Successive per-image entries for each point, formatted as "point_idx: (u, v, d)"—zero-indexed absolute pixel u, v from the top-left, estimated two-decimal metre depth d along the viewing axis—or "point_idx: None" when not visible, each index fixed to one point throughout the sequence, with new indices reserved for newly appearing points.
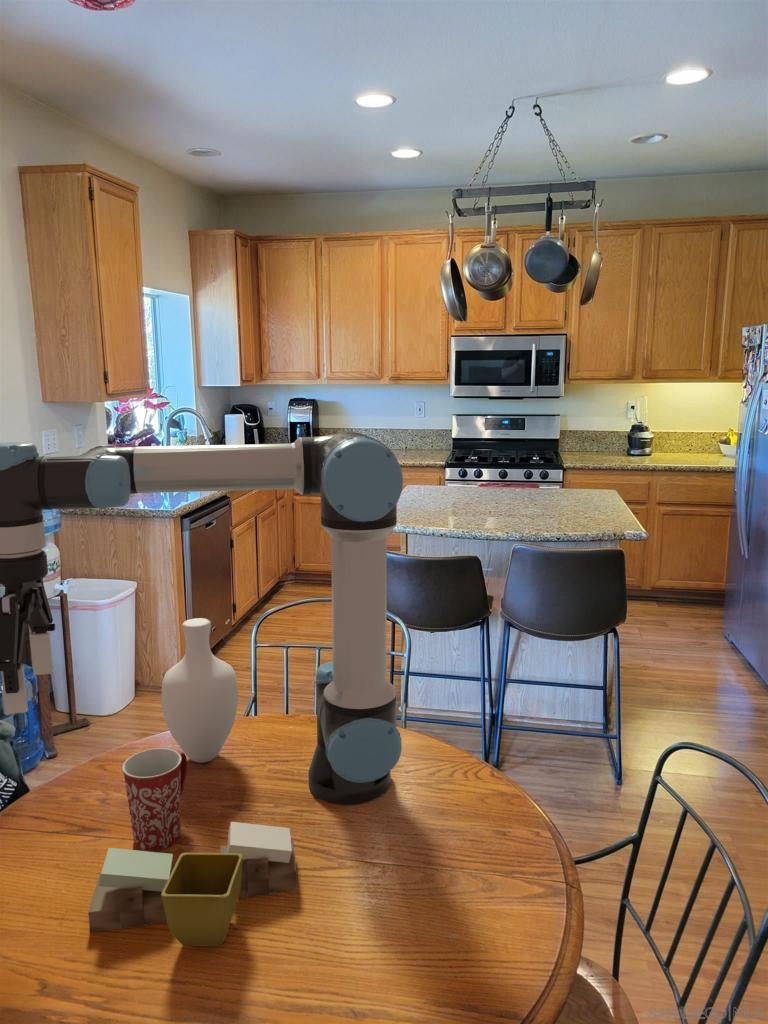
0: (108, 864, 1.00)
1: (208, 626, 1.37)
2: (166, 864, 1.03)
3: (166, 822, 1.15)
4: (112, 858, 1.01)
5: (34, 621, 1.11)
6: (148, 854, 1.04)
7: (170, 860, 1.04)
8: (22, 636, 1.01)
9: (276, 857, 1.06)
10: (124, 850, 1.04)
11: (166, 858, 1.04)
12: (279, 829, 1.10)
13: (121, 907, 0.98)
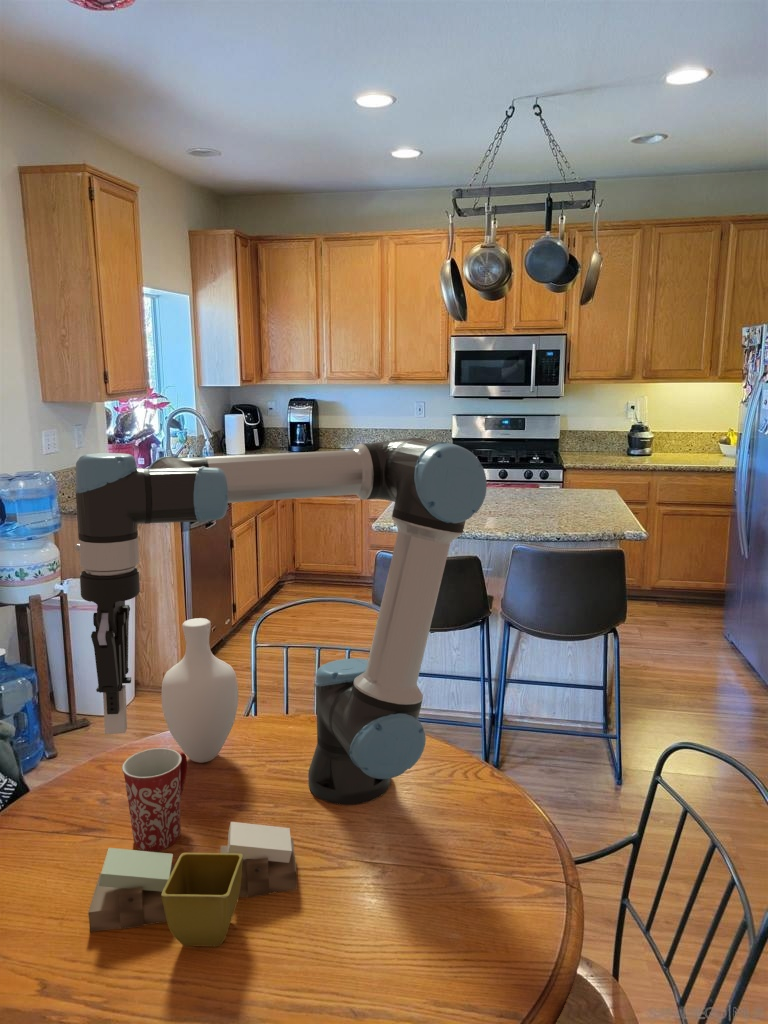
0: (108, 864, 1.00)
1: (208, 626, 1.37)
2: (166, 864, 1.03)
3: (166, 822, 1.15)
4: (112, 858, 1.01)
5: None
6: (148, 854, 1.04)
7: (170, 860, 1.04)
8: (120, 658, 0.99)
9: (276, 857, 1.06)
10: (124, 850, 1.04)
11: (166, 858, 1.04)
12: (279, 829, 1.10)
13: (121, 907, 0.98)
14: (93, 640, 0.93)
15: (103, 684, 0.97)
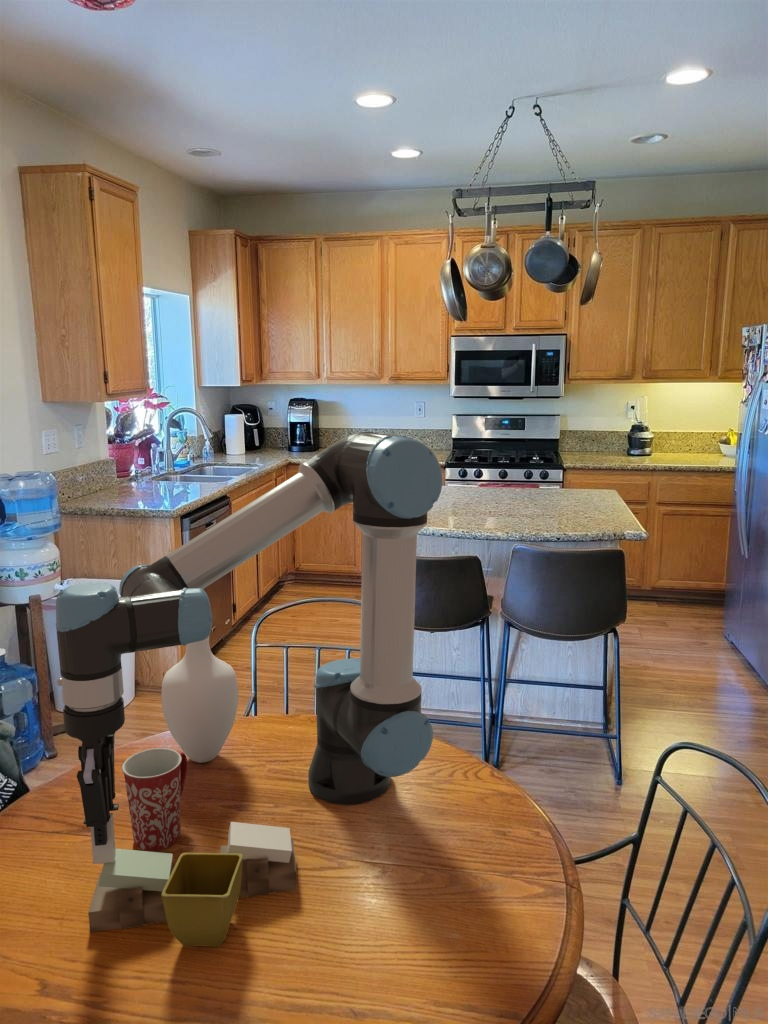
0: (107, 864, 1.00)
1: None
2: (166, 864, 1.03)
3: (166, 822, 1.15)
4: None
5: None
6: (148, 854, 1.04)
7: (170, 860, 1.04)
8: (106, 790, 0.98)
9: (276, 857, 1.06)
10: (124, 850, 1.04)
11: (166, 858, 1.04)
12: (279, 829, 1.10)
13: (121, 907, 0.98)
14: (79, 780, 0.92)
15: (90, 819, 0.95)
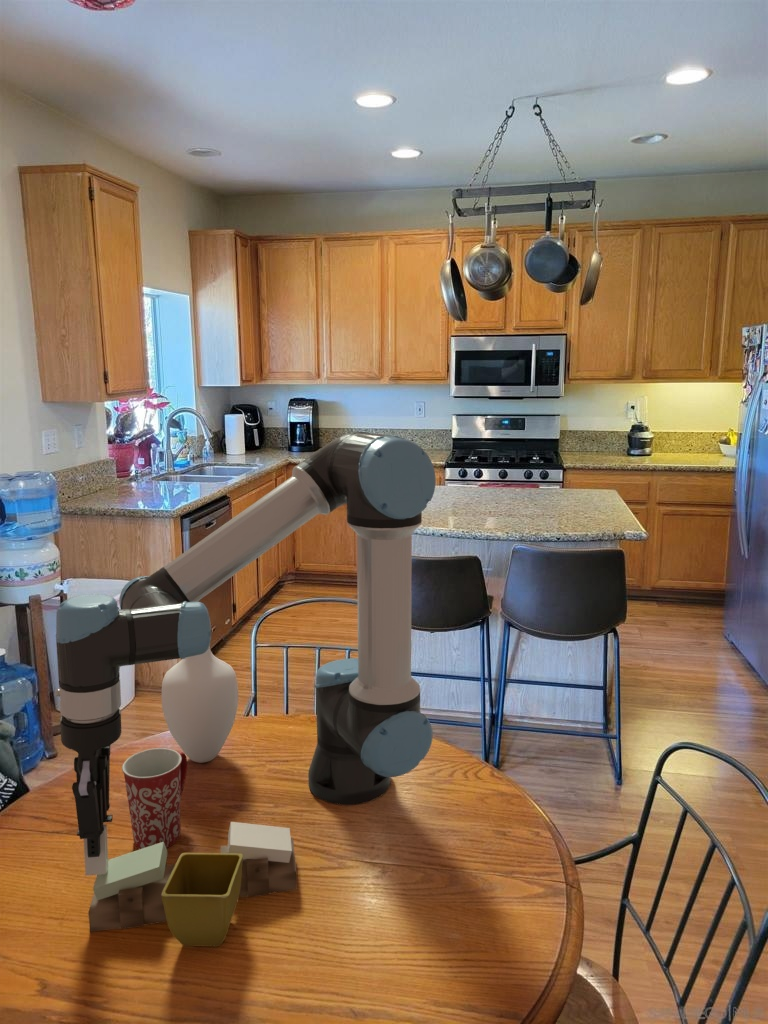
0: (99, 877, 1.00)
1: None
2: (157, 853, 1.02)
3: (166, 822, 1.15)
4: None
5: None
6: (139, 852, 1.04)
7: (161, 848, 1.03)
8: (101, 802, 0.98)
9: (276, 857, 1.06)
10: (116, 858, 1.04)
11: (157, 848, 1.04)
12: (279, 829, 1.10)
13: (121, 907, 0.98)
14: (74, 792, 0.92)
15: (84, 831, 0.95)
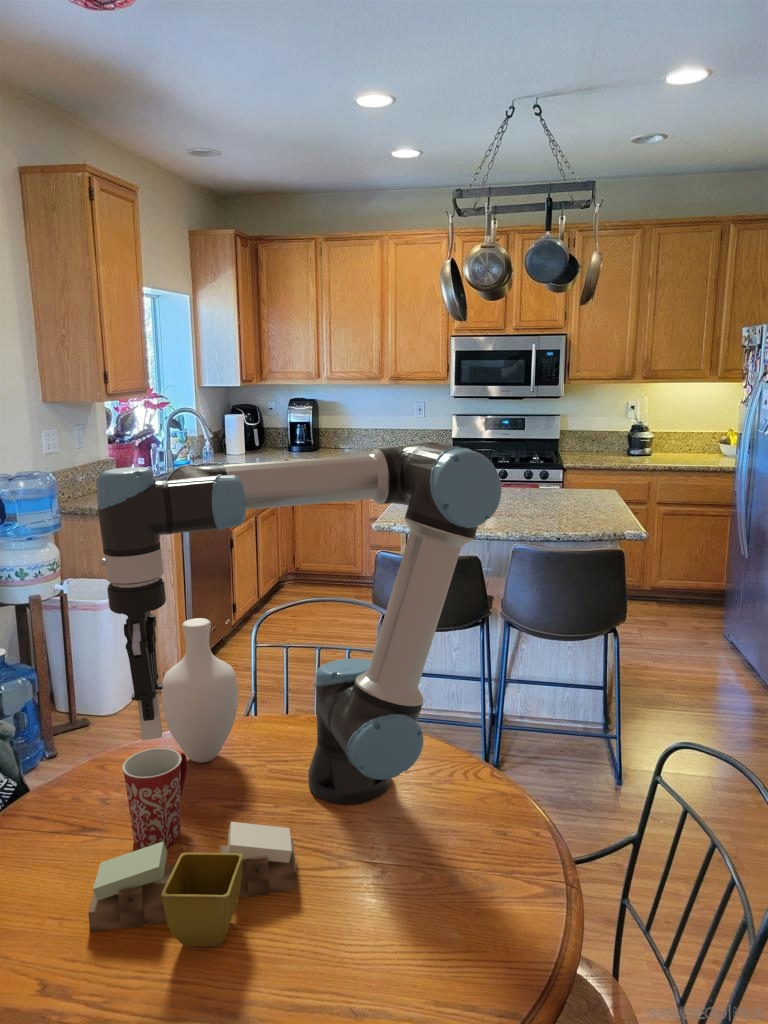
0: (99, 877, 1.00)
1: (208, 626, 1.37)
2: (156, 853, 1.02)
3: (166, 822, 1.15)
4: (103, 870, 1.02)
5: None
6: (139, 852, 1.04)
7: (160, 848, 1.03)
8: (152, 666, 1.02)
9: (276, 857, 1.06)
10: (116, 858, 1.04)
11: (156, 848, 1.04)
12: (279, 829, 1.10)
13: (121, 907, 0.98)
14: (128, 651, 0.96)
15: (139, 692, 1.00)
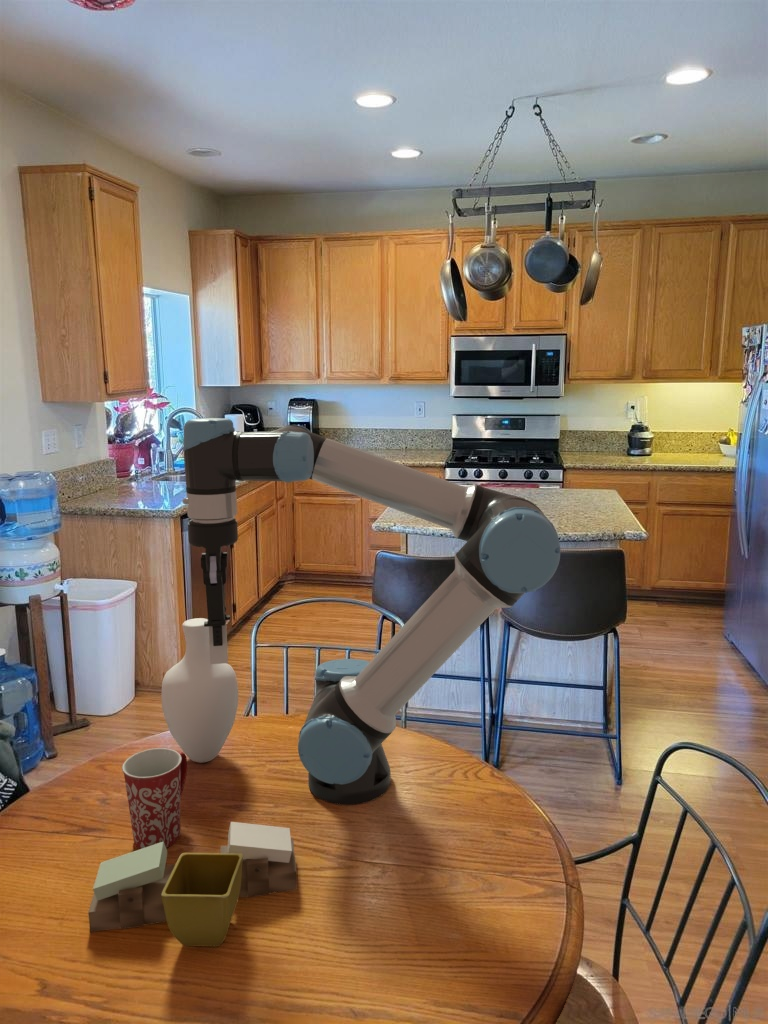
0: (99, 877, 1.00)
1: (208, 626, 1.37)
2: (156, 853, 1.02)
3: (166, 822, 1.15)
4: (103, 870, 1.02)
5: None
6: (139, 852, 1.04)
7: (160, 848, 1.03)
8: (223, 597, 1.14)
9: (276, 857, 1.06)
10: (116, 858, 1.04)
11: (156, 848, 1.04)
12: (279, 829, 1.10)
13: (121, 907, 0.98)
14: (206, 578, 1.08)
15: (212, 618, 1.12)
